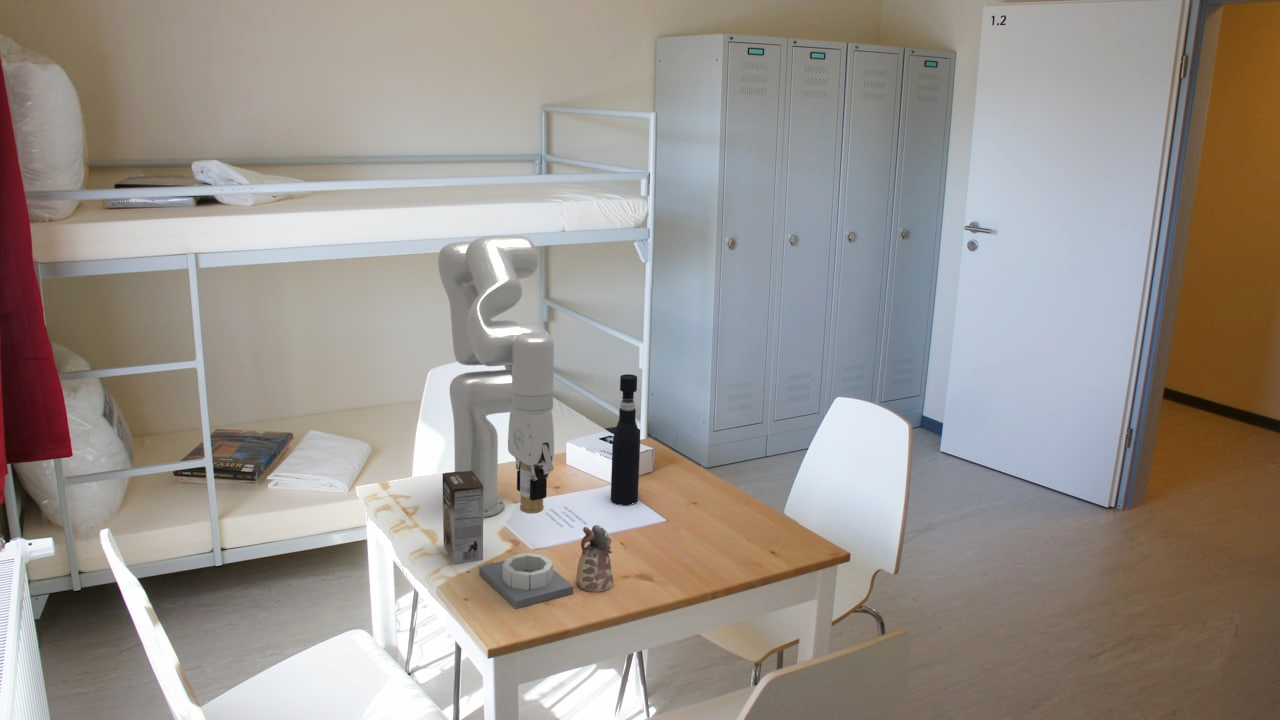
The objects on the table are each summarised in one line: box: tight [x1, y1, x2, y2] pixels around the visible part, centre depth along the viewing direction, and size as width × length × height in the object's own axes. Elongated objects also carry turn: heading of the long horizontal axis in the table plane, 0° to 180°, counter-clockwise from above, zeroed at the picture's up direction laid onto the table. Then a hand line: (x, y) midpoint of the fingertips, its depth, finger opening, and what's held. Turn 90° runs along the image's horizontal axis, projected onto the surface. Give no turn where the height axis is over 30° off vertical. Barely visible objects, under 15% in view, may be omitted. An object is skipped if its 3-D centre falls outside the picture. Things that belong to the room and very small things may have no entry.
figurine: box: [576, 524, 614, 593], centre depth 192 cm, size 7×7×12 cm
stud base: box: [478, 552, 574, 609], centre depth 192 cm, size 16×12×4 cm
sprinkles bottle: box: [519, 459, 545, 515], centre depth 187 cm, size 5×5×14 cm
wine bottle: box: [610, 374, 641, 506], centre depth 231 cm, size 6×6×30 cm
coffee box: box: [441, 471, 484, 565], centre depth 202 cm, size 9×6×16 cm
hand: (531, 493), depth 188 cm, fingers closed on sprinkles bottle, 4 cm apart
